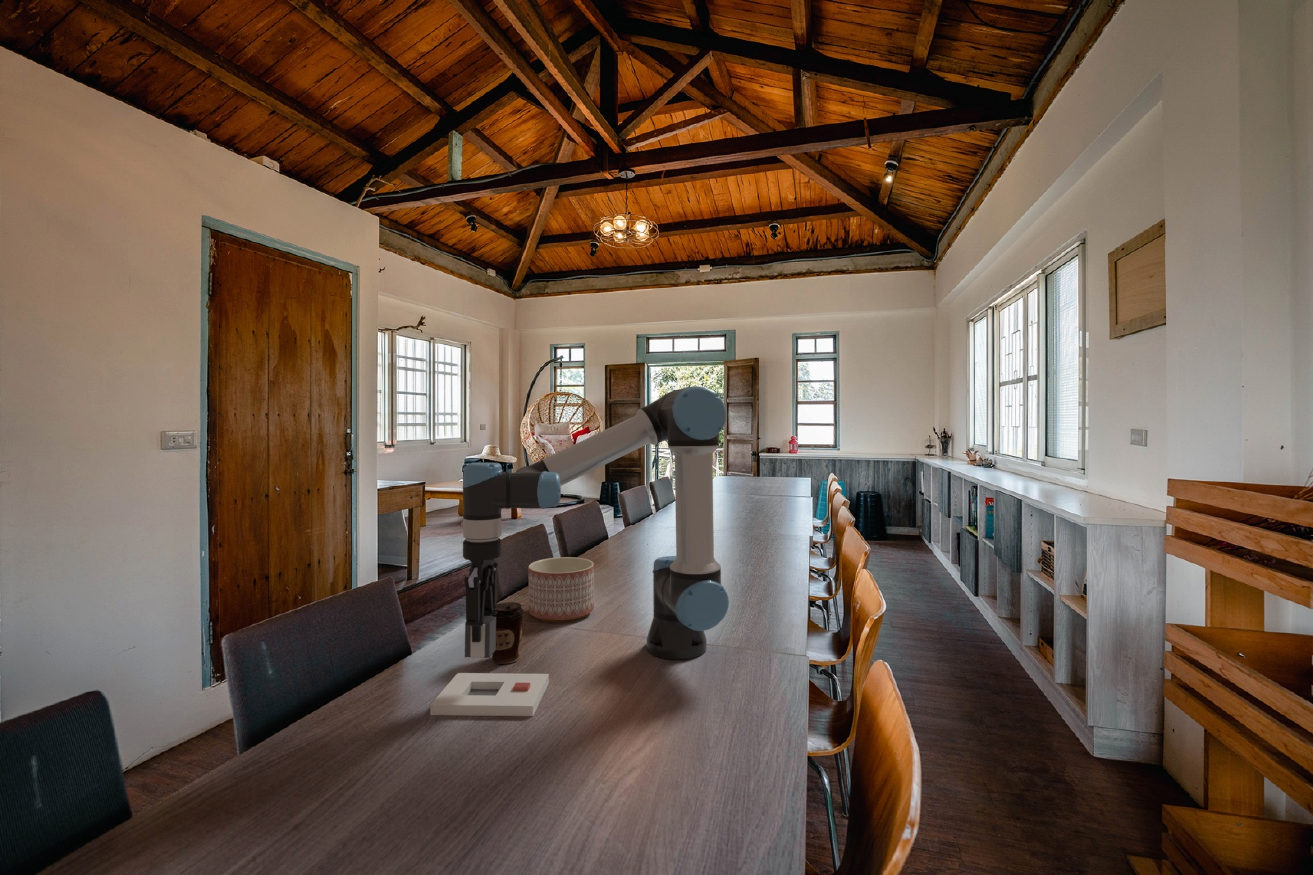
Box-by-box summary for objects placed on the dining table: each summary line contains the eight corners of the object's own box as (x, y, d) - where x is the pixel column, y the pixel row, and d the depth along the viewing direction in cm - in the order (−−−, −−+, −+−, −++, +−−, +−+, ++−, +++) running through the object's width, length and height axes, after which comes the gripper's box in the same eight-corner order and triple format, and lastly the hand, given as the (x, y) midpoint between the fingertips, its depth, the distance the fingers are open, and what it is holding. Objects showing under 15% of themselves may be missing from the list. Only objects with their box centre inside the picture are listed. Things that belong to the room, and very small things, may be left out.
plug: (495, 650, 117) (496, 616, 117) (489, 657, 113) (489, 623, 113) (471, 649, 117) (472, 616, 117) (464, 657, 113) (465, 622, 113)
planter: (606, 610, 170) (606, 562, 170) (564, 630, 154) (564, 576, 153) (559, 600, 180) (559, 554, 180) (514, 617, 164) (514, 567, 164)
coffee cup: (513, 668, 129) (513, 612, 129) (480, 665, 131) (480, 610, 130) (529, 653, 138) (529, 601, 137) (498, 651, 139) (498, 599, 139)
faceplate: (548, 683, 122) (548, 670, 122) (533, 716, 108) (532, 701, 108) (457, 682, 122) (457, 669, 122) (430, 715, 108) (430, 700, 108)
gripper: (478, 530, 123) (477, 636, 123) (447, 546, 106) (447, 669, 106) (512, 530, 123) (511, 636, 123) (486, 547, 106) (486, 670, 106)
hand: (481, 651), depth 115 cm, fingers closed on plug, 4 cm apart
